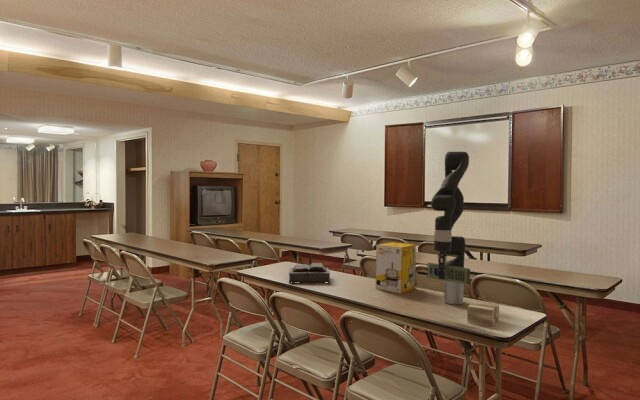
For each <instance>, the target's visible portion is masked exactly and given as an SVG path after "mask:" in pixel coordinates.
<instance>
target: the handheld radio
mask: <svg viewBox="0 0 640 400" xmlns="http://www.w3.org/2000/svg"><path fill="white" fill-rule="evenodd" d="M426 267H427V268H426V270H425V271H426V272H425V271H421V270H420V271H419V270H418V271H417V274H418V275H423V276H426V278H430V279H436V280H441V281H445V280H446V281H452V282H457V283H463V284H464V285H470V284H471V280H470V279H471V269H470V268H469V267H464V268H462V267H456V266H449V265H446V266H445V271H444V279H439V265H438V263H434V262H430V261H429V262H426ZM440 267H443V266H440Z"/></svg>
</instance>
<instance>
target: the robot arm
mask: <svg viewBox="0 0 640 400" xmlns="http://www.w3.org/2000/svg"><path fill="white" fill-rule="evenodd" d="M469 164H470V155H469V154H468V152H467V151H447V152H446V153H445V156H444V179H443V181H442V182H441V185H440V187H439V189H438V190H437V191H436V192H435V194H433V196H432V198H431V202H430V206H431V209H432V210H434V211H437V212H438V211H439V212H443V215H440V216H436V217H435V219H434V220H435V221H434V234H433V237H434V238H433V250H434V251H437V252H439V253H437V264H438V265H439V279H438V280H440V279H444V271H445V266H446V265H449V266H456V267H462V268H465V253H466V240H465V237H463V236H457V235H456V236H455V235H454V236H453V235H452V229H453V227H454V226H455V225H456V222H457V221H458V220H459V219H460V217H461V216H462V214H463V212H464V207H465V206H464V200H465V199H464V197H465V196H464V195H463V192H462V191H461V190H460V188H459V185H460V184H459V183H460V182H461V180H462V179H463V177H464V175H465V174H466V171H467V170H468V168H469ZM448 255H449V256H451V255H452V256H456V257H454V258H453V259H450V260H447V258H448ZM440 266H443V267H440ZM443 285H444V286H443V287H444V290H443V291H444V293H443V302H444V303H446V304H448V305H455V306H456V305H463V304H464V289H465V288H464V285H465V284H463V283H457V282H452V281H446V280H444V283H443Z"/></svg>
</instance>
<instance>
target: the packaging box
mask: <svg viewBox="0 0 640 400" xmlns="http://www.w3.org/2000/svg"><path fill="white" fill-rule="evenodd" d="M375 246H376V249H375V250H376V251H375V252H376V255H375V258H376V259H375V289H376V290H379V289H381V290H380V291H385V290H386V291H387V292H390V291H391V292H392V293H397V294H403V293H406V292H409V291H411V290H412V291H413V290H415V289H416V270H417V269H416V265H417V260H416V259H417V244H413V243H412V244H411V243H402V242H390V241H389V242H385V243H380V244H376V245H375Z"/></svg>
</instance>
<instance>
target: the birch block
mask: <svg viewBox="0 0 640 400" xmlns="http://www.w3.org/2000/svg"><path fill="white" fill-rule="evenodd" d="M466 311H467V316H466V322H467V323H468V324H469V323H470V324H475V325H479V326H480V325H481V326H485V327H490V328H492V327H494V325H495V324H496V323H498V321H499V320H500V304H499V303H498V304H497V303H493V302H485V301H478V300H475V301H473V302H472V303H471V304H469V305H468V306H467V310H466Z"/></svg>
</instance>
